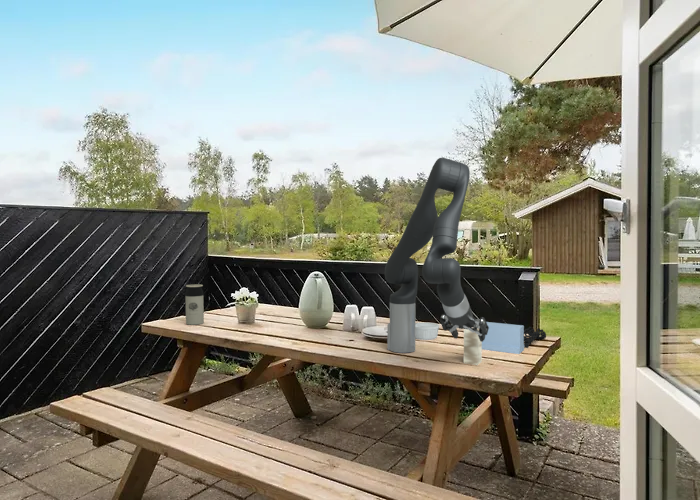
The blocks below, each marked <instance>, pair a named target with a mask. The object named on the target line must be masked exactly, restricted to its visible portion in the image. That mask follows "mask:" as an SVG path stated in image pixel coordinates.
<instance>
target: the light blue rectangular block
mask: <svg viewBox="0 0 700 500" xmlns="http://www.w3.org/2000/svg"><path fill="white" fill-rule="evenodd" d="M486 323H487V325H488V327H489V329H488V333H487V335H485V340H483V342H482V350H486V351H493V352H499V353H500V352H501V353H506V354H507V353H509V354H510V353H511V354H515V355H520V354H521V353H523V352H524V351H525V347H524V345H525V344H524V336H525V334H524V330H525V326H524V325H522V324H511V323H501V322H489V321H486Z"/></svg>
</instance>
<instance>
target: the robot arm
mask: <svg viewBox="0 0 700 500" xmlns="http://www.w3.org/2000/svg"><path fill="white" fill-rule="evenodd" d="M470 173H471V171H470V167H469V165H467V164H466V163H463V162H460V161H456V160H453V159H449V158H445V157H438V158H437V159H436V161H435V162H434V164H433V166H432V167H431V170H430V172H429V174H428V178H427V179H426V183H425V185H424V188H423V191H422V193H421V196H420V198H419V200H418V202H417V204H416V206H415V208H414V210H413V213H412V214H411V216H410V218H409V219H408V222H407V224H406V226H405V230H404V231H403V233H402V236H401V237H400V239H399V242H398V243H397V245H396V247H395V249H394V250H393V251H392V253H391V254H390V256H389V258H388V260H387V262H386V264H385V267H384V278H385V280H386V282H387V283H389V284H392V285H401V287H400V288H399V289H398V290H397V291H395V292H393V293H391V294H390V295H389V322H388V323H387V326H386V328H387V331H386V332H387V335H386V336H387V338H386V339H387V342H386V343H387V346H386V347H387V348H386V349H387V350H388V351H391V352H394V353H402V354H403V353H404V354H405V353H406V354H407V353H412V352H415V351H416V338H415V323H416V298H417V296H418V295H417V294H418V281H419V267H418V264H417V262H416V260H415V259H414V258H412V256H414V254H416V253H417V252H419V251H420V250H421V249H423V248H424V247H425V246H426V245H428V243H430V241H431V245H430V248H429V250H428V253H427V254H426V255H427V256H426V257H425V260H424V262H423V265H422V269H421V270H422V271H421V273H422V278H423V279H424V282H426V283H428V284H430V285H431V284H433V285H434V284H437V286H436V291H437V295H438V297H439V299H440V301H441V305H442V308H443V311H444V313H442V314H441V316H440V319H439V322H440V324H441V327H442V330H443V331H448V332H449V333H450V334H451V336H452V337H453V338H454V339H458V337H459V332H458V329H459V330H464V329H467V330H470V331H471V332H473V333H474V332H475V333H476V334H478V337H479V339H480V341H481V342H483V340H485V335H487V333H488V329H489V327H488V325H487V323H486V322H487V321H486V318H485V317H483V316H480V318H476V317H475V316H474V315H473V310H472V308H471V306H470V303H469V301H468V298H467V296H466V294H465V293H464V290H463V288H462V284H461V269H462V268H461V264H460V262H459V261H458V260H456V259H455V258H454V257H446V258H445V256H448V255H451V254H454V253H455V252H456V249H457V247H458V234H459V225H460V218H461V215H462V211H463V207H464V205H465V204H464V202H465V199H466V196H467V195H466V194H467V190H468V187H469V186H468V185H469V182H470V175H471V174H470ZM438 189H440V190H444V191H446V192H451V193H452V194H453V195H452V199H451V202H450V203H449V204H448V205H447V206H446V207H445V209H443V211H442V212H441V213H440V214H439V215H438V211H437V210H438V209H437V207H436V199H435V197H436V192H437V190H438ZM477 328H478V329H479V331H478V330H477Z"/></svg>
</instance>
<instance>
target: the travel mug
mask: <svg viewBox="0 0 700 500" xmlns="http://www.w3.org/2000/svg"><path fill="white" fill-rule="evenodd" d="M203 286H204V285H203V284H199V283H198V284H197V283H196V284H195V283H194V284H193V283H192V284H186V285H185V287H186V291H185V295H184V296H185V297H184V298H185V324H186V325H189V326H197V325H198V326H199V325H203V324H204V323H205V322H204V321H205V320H204V319H205V313H204V312H205V309H204V307H205V306H204V291H203Z"/></svg>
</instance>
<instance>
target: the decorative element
mask: <svg viewBox="0 0 700 500" xmlns="http://www.w3.org/2000/svg"><path fill="white" fill-rule="evenodd" d="M545 338H547V333H546V331H545V330H544V329H543V328H536V331H535V329H534V328H532V327H531V326H529V327H527V328H524V349H528V348H529V347H530V344H532V343H533V342H534V341H536V340H538V339H542V340H545Z"/></svg>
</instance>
